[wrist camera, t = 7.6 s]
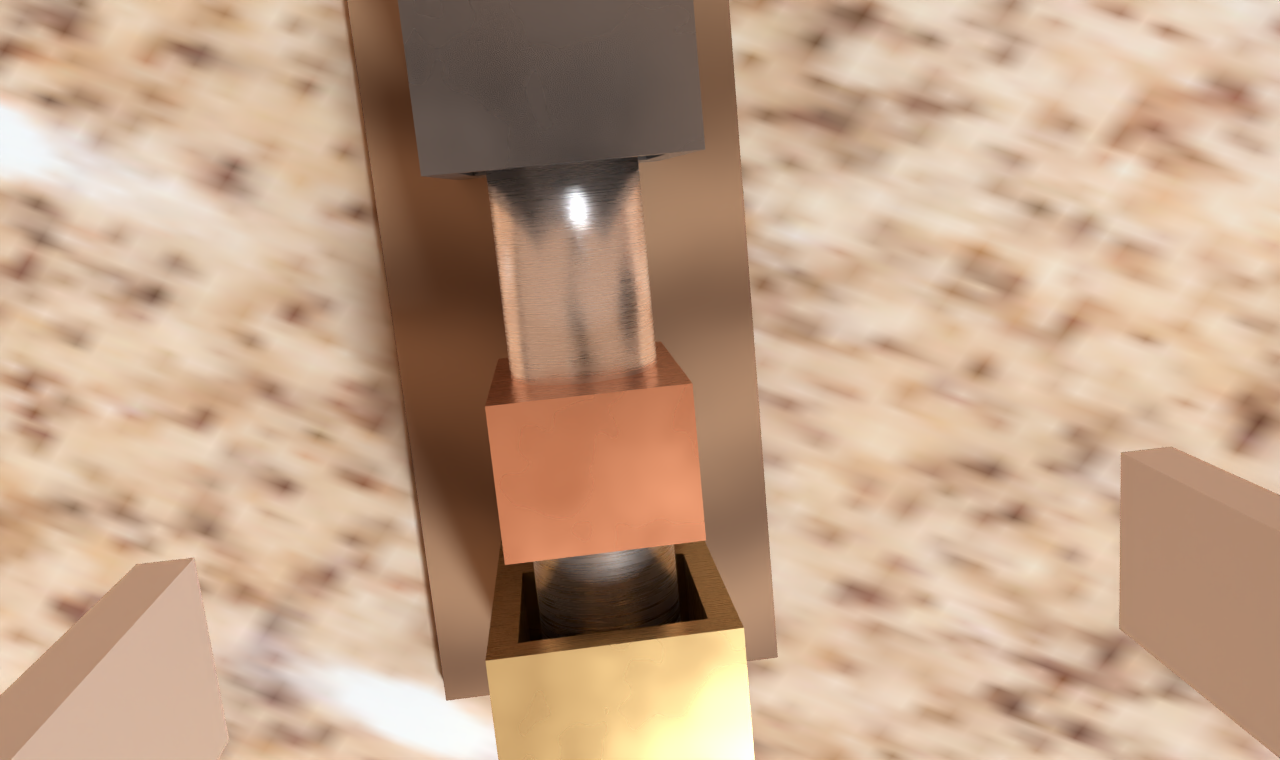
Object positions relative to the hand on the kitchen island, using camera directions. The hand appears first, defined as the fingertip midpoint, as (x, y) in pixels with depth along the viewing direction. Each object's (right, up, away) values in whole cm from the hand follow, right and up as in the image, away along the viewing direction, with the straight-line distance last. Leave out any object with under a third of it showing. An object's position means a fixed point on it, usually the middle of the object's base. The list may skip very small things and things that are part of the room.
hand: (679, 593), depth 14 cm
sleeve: (-4, +14, +19) cm, 24 cm away
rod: (-2, +4, +17) cm, 18 cm away
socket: (-2, -4, +23) cm, 23 cm away
